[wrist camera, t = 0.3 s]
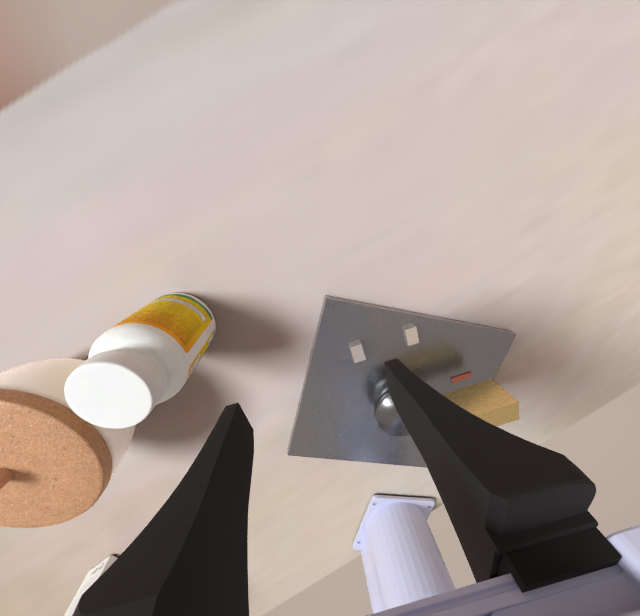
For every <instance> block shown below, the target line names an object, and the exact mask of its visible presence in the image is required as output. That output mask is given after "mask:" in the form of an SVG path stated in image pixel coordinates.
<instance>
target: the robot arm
mask: <svg viewBox="0 0 640 616" xmlns="http://www.w3.org/2000/svg"><path fill="white" fill-rule="evenodd" d="M384 364H385V371H386V377H387V384H388V391H389V394H390V396H391V399H392V401H393V403H394V406H395V408H396V410H397V412H398V414H399V416H400V418H401V420H402V421H403V423H404V425H405V427H406V429H407V430H408V432H409V434H410V436H411V437H412V439H413V441H414V443H415V445H416V446H417V448H418V450H419V452H420V453H421V455H422V457H423V459H424V461H425V463H426V465H427V467H428V470H429V472H430V474H431V476H432V478H433V481H434V483H435V485H436V487H437V490H438V492H439V494H440V496H441V499H442V501H443V503H444V505H445V508H446V510H447V512H448V515H449V517H450V519H451V522H452V524H453V526H454V529H455V531H456V533H457V536H458V538H459V541H460V543H461V545H462V548H463V550H464V553H465V555H466V558H467V560H468V562H469V565H470V567H471V570H472V572H473V575H474V577H475V580H476V582H477V583H475V584H472V585H469V586H466V587H462V588H458V589H455V586H454V584H453V582H452V579H451V577H450V575H449V572H448V570H447V568H446V565H445V563H444V561H443V559H442V556H441V554H440V551H439V549H438V547H437V544H436V542H435V540H434V537H433V535H432V533H431V530H430V528H429V526H428V523H427V521H426V520H427V518H428V516H429V514H430V512H431V510H432V508H433V507H434V505H435V502H434V500H433V499H431V498H416V497H402V496H387V495H374V496H373V497H372V498H371V501H370V503H369V506H368V508H367V510H366V513H365V515H364V518H363V520H362V523H361V525H360V528H359V530H358V533H357V535H356V537H355V540H354V542H353V549H355V550H361V555H362V560H363V565H364V570H365V575H366V580H367V585H368V590H369V595H370V601H371V606H372V610H373V614H370V615H367V616H640V525H638V526H634V527H631V528H627V529H624V530H620V531H618V532H615V533H612V534H611V535H609V536H607V537H606V538H605V537H604V536H603V535H602V533H601V532H600V531H599V530H598V529H597V528H596V527H597V526H598V523H597V521H596V520H595V518H594V517H593V516H592V515H591V514H590V513H589V512H588V511H587V510H588V507H589V506H590V504H591V502H592V500H593V498H594V496H595V493H596V487H595V484H594V483H593V482H592V481H591V480H590V479H589V478H588V477H587V476H586V475H585V474H584V473H583V472H582V471H581V470H580V469H579V468H578V467H577V466H576V465H574V464H573V463H572V462H571V461H570V460H569V459H567V458H566V457H565V456H564V455H562V454H560V453H557V452H555V451H552V450H549V449H547V448H544V447H541V446H539V445H536V444H534V443H531V442H529V441H526V440H524V439H522V438H519V437H517V436H515V435H513V434H510V433H508V432H506V431H504V430H502V429H500V428H498V427H496V426H494V425H492V424H490V423H488V422H486V421H484V420H482V419H481V418H479V417H477V416H475V415H473V414H472V413H470V412H468V411H467V410H465V409H463V408H462V407H460V406H458V405H457V404H455V403H454V402H452V401H451V400H449V399H448V398H446V397H445V396H443V395H442V394H440V393H439V392H438V391H436V390H435V389H433V388H432V387H431V386H430V385H428V384H427V383H426V382H424V381H423V380H422V379H421V378H419V377H418V376H417V375H416V374H414V373H413V372H412V371H411V370H410V369H409V368H407V367H406V366H405V365H404V364H403V363H402V362H401V361H400V360H399V359H397V358H396V359H393V360H389V361H385V362H384ZM253 455H254V436H253V428H252V427H251V425H250V423H249V421H248V419H247V418H246V416H245V414H244V412H243V410H242V409H241V407H240V405H239V403H236V404H232V405H228V406H226V407H225V409H224V410H223V412H222V414H221V416H220V417H219V419H218V421H217V423H216V425H215V427H214V428H213V430H212V432H211V434H210V436H209V437H208V439H207V441H206V442H205V444H204V446H203V448H202V449H201V451H200V453H199V454H198V456H197V458H196V459H195V461H194V462H193V464H192V465H191V467H190V469H189V470H188V472H187V473H186V475H185V476H184V478H183V479H182V481H181V482H180V484H179V485H178V486H177V488H176V489H175V491H174V492H173V493H172V495H171V496H170V497H169V499H168V500H167V501H166V503H165V504H164V505H163V506H162V508H161V509H160V510H159V511H158V513H157V514H156V515H155V516H154V517H153V519H152V520H151V521H150V522H149V524H148V525H147V526H146V527H145V528H144V530H143V531H142V532H141V533H140V534H139V535H138V537H137V538H136V539H135V540H134V541H133V542H132V543H131V544H130V546H129V547H128V548H127V549H126V550H125V551H124V552H123V553H122V554H121V555H120V556H119V557H118V559H117V560H116V561H115V562H114V563H113V564H112V565H111V566H110V567H109V568H108V569H107V570H106V571H105V572H104V573H103V574H102V575H101V576H100V577H99V578H98V579H97V580H96V581H95V582H94V583H93V584H92V585H91V586H90V587H89V588H88V589H87V590H86V591H85V592H84V593H83V594H82V596H81V598H80V600H79V602H78V604H77V606H76V608H75V611H74V613H73V615H72V616H249V604H248V570H247V528H248V504H249V494H250V485H251V475H252V465H253Z"/></svg>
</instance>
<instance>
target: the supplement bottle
mask: <svg viewBox="0 0 640 616" xmlns="http://www.w3.org/2000/svg"><path fill="white" fill-rule="evenodd" d="M215 330H216V323H215V319H214V316H213V314H212V312H211V310H210V309H209V308H208V307H207V306H206V305H205V304H204V303H203V302H202V301H201V300H199V299H198V298H196V297H194V296H192V295H189V294H184V293H169V294H165V295H163V296H161V297H159V298H157V299H155V300H154V301H152V302H151V303H149V304H148V305H146V306H145V307H143V308H141V309H140V310H138V311H137V312H135V313H134V314H132V315H131V316H129V317H127V318H126V319H124V320H123V321H121V322H120V323H118V324H117V325H115V326H114V327H112V328H110V329H109V330H107V331H106V332H105V333H103V334H102V335H101V336H100V337H99V338H98V339H97V340H96V341H95V342H94V344H93V345H92V347H91V349H90V352H89V355H88V359H87V360H86V361H85V362H84V363H82V364H81V365H80V366H79V367H77V368H76V369H75V370H74V371H73V372H72V373H71V374H70V375H69V376H68V378H67V380H66V382H65V386H64V395H65V398H66V401H67V403H68V405H69V407H70V408H71V409H72V410H73V412H75V413H76V414H77V415H78V416H79V417H81V418H82V419H84V420H85V421H87V422H89V423H91V424H93V425H96V426H99V427H104V428H113V429H120V428H127V427H131V426H134V425H136V424H138V423H140V422H141V421H143V420H144V419H145V418H146V417H147V416H148V415H149V414H150V412H151V411H152V410H153V408H154V407H155V406H156V405H157V404H159V403H162V402H164V401H166V400H168V399H170V398H172V397H173V396H174V395H176V394H177V393H178V392H179V391H180V390H181V388H182V387H183V386H184V384H185V383H186V381H187V380H188V378H189V376H190V375H191V373H192V372H193V370H194V368H195V367H196V365H197V364H198V362H199V361H200V359H201V357H202V356H203V354H204V353H205V351H206V350H207V348H208V346H209V345H210V343H211V341H212V339H213V337H214V335H215Z"/></svg>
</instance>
